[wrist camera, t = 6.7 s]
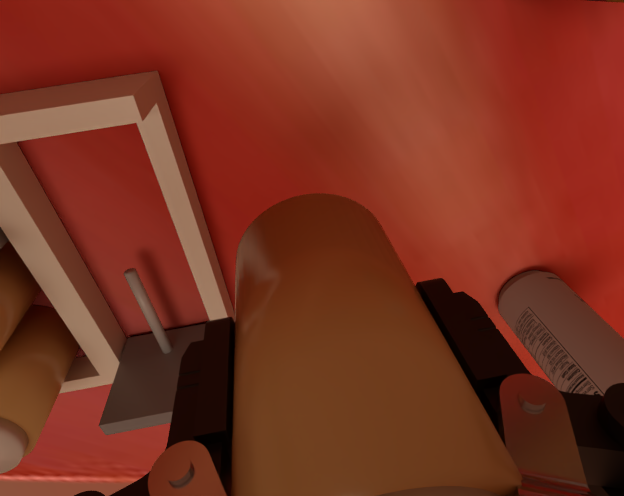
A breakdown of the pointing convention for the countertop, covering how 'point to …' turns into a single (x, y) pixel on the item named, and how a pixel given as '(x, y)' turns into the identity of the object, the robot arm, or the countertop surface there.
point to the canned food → (609, 0)
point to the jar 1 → (14, 291)
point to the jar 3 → (348, 368)
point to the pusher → (147, 371)
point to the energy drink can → (562, 333)
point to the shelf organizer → (53, 236)
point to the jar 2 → (31, 380)
